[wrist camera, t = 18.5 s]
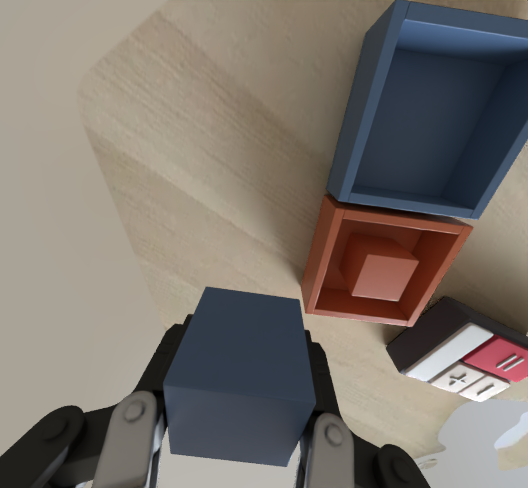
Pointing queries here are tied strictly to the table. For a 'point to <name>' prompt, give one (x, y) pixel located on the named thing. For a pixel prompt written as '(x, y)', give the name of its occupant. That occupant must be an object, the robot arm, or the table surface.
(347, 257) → the terracotta block
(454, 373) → the calculator
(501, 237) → the table surface
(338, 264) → the terracotta bin
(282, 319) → the blue block
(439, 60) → the blue bin
